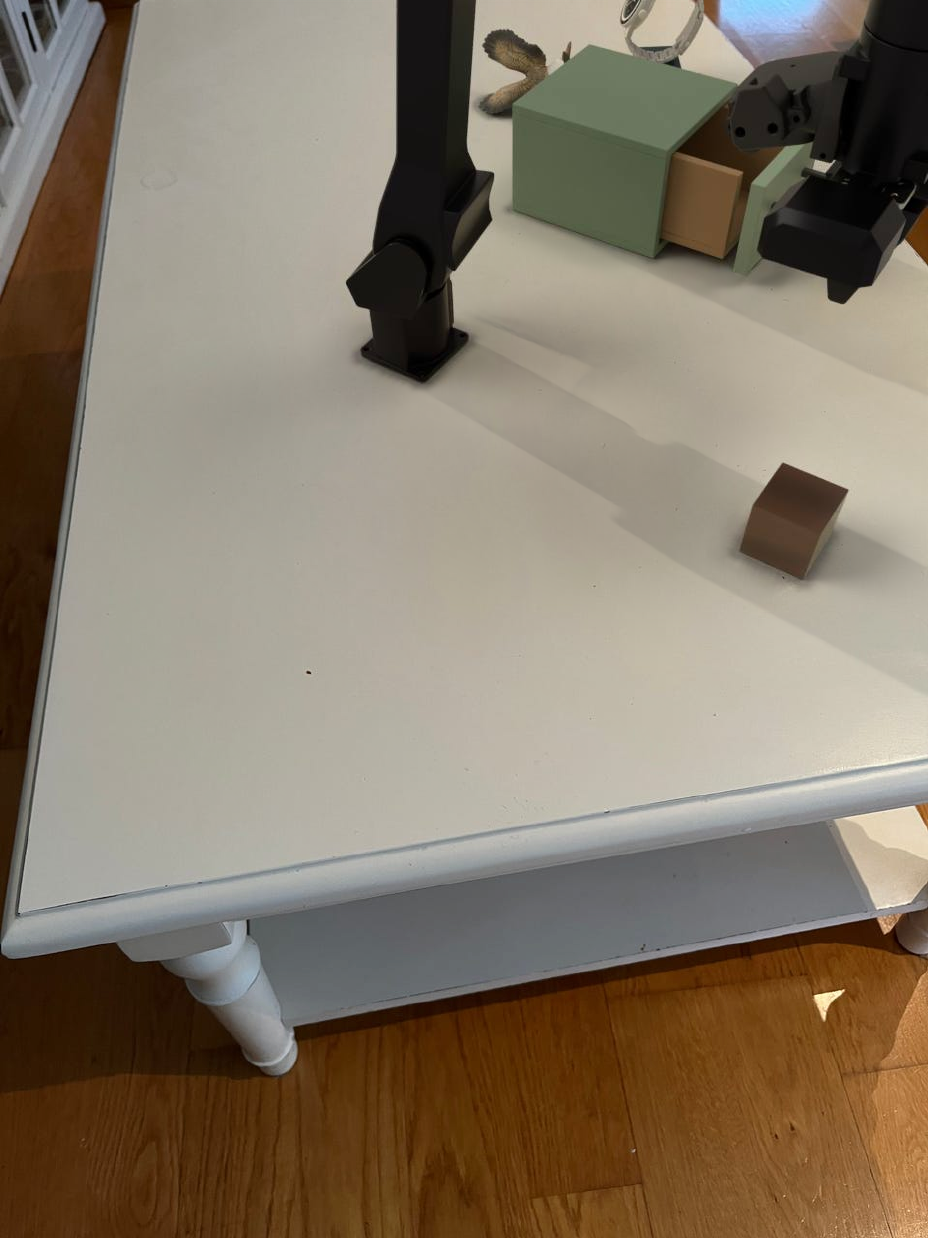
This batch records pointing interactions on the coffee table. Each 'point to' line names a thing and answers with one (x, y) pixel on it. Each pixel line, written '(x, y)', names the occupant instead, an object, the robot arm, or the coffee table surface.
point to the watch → (632, 18)
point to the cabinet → (607, 143)
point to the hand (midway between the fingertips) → (837, 299)
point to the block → (792, 520)
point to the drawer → (727, 191)
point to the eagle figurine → (517, 67)
